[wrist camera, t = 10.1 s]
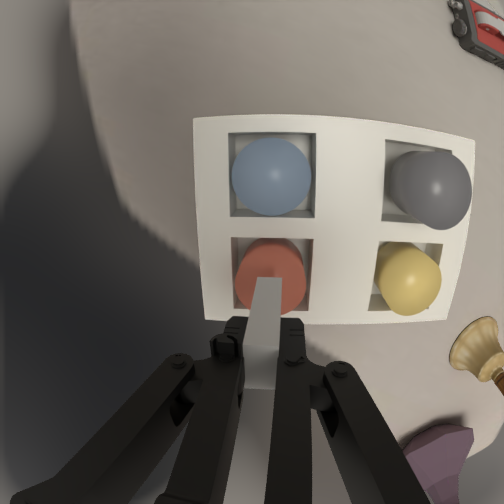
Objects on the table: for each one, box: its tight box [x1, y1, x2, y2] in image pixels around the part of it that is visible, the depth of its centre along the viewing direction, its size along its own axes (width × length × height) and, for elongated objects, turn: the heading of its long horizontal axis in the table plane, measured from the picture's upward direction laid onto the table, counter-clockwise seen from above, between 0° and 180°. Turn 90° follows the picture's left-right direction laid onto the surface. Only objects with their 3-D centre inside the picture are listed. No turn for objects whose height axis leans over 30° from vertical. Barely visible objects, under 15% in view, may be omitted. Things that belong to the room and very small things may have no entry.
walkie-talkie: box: [448, 0, 504, 69], centre depth 12 cm, size 9×4×20 cm
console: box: [193, 114, 475, 324], centre depth 22 cm, size 16×22×4 cm
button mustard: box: [373, 242, 442, 316], centre depth 21 cm, size 5×5×4 cm
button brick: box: [235, 238, 306, 315], centre depth 22 cm, size 5×5×4 cm
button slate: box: [232, 137, 311, 216], centre depth 19 cm, size 5×5×4 cm
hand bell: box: [450, 317, 504, 396], centre depth 19 cm, size 8×8×16 cm
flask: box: [402, 424, 474, 504], centre depth 24 cm, size 16×16×20 cm
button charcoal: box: [389, 151, 472, 230], centre depth 16 cm, size 5×5×4 cm
